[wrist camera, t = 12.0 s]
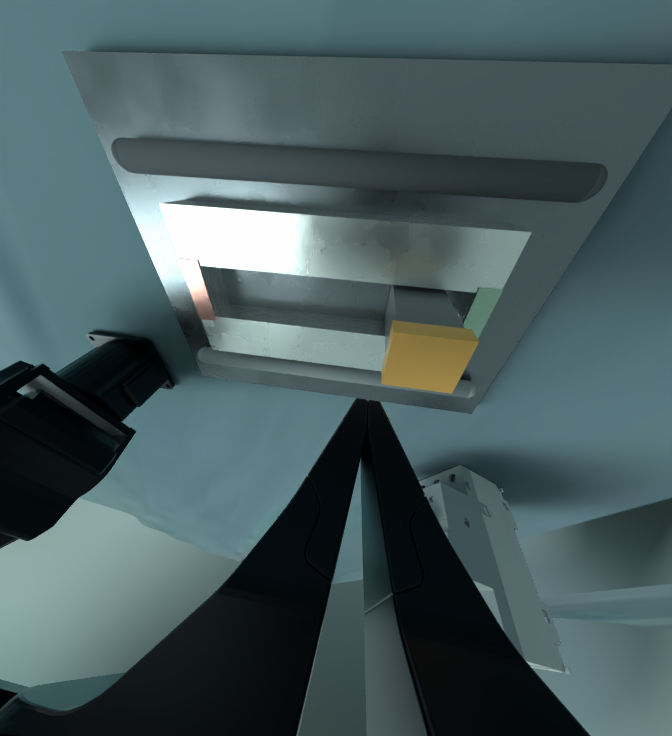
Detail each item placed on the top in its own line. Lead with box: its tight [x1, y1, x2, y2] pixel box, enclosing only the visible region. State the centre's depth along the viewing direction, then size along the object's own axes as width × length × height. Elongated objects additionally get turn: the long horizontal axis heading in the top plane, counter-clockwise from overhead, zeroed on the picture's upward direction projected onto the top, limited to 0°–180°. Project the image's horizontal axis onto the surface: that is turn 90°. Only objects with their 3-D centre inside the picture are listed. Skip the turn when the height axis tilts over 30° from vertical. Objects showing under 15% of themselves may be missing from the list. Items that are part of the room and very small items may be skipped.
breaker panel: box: [62, 51, 672, 414], centre depth 16 cm, size 26×20×3 cm
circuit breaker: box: [419, 465, 571, 674], centre depth 26 cm, size 8×14×15 cm, turn 57°
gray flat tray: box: [111, 137, 608, 398], centre depth 16 cm, size 23×14×1 cm, turn 88°
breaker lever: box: [381, 284, 479, 394], centre depth 13 cm, size 3×3×6 cm
